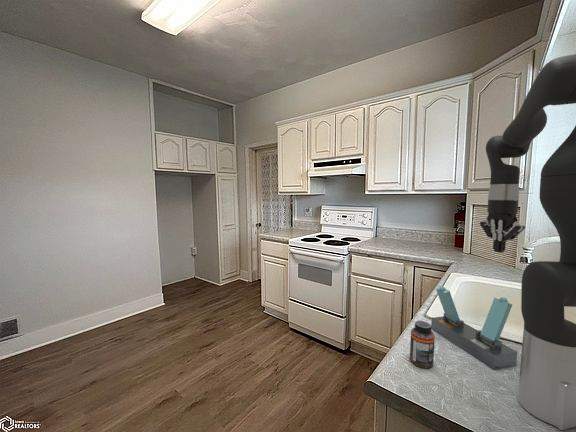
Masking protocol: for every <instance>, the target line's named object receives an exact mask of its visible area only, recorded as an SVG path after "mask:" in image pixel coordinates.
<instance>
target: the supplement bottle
mask: <svg viewBox="0 0 576 432" xmlns="http://www.w3.org/2000/svg"><path fill="white" fill-rule="evenodd" d="M435 340H436V339H435V334H434V332H433V331H432V329H431V323H429V322H427V321H424V320H417V321H415V322H414V327H412V329H411V330H410V342H409V343H410V345H409V346H410V348H409V360H410V361H411V362H412V364H414V365H415V366H417V367H419V368H422V369H429V368H432V367H433V365H434V362H435V361H434V359H435V358H434V357H435V343H436V341H435Z"/></svg>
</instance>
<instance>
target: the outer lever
mask: <svg viewBox="0 0 576 432" xmlns="http://www.w3.org/2000/svg"><path fill="white" fill-rule="evenodd" d="M435 290H436V293H437V296H438V299H439V301H440V304H441V306H442V309H443V313H445V315H446V319H448V320H449V321H451V322H453V323H455V324H456V325H457V324H458V321H460V320H461V319H460V317H459V314H458V311H457V307H456V305H455V302H454V300H453V296H452V294H451V291H450V290H448V289H447V288H446V287H444V286H441V285H440V286H438V287H436V288H435Z"/></svg>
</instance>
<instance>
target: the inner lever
mask: <svg viewBox="0 0 576 432" xmlns="http://www.w3.org/2000/svg"><path fill="white" fill-rule="evenodd" d="M512 307H513V303H510V302H508V299H507V298H506V297H502V296H501V297H500V298H497V297H493V300H492V303H491V306H490V307H489V310H488V312H487V314H486V315H487V316H486V318H485V321H484V322H483V326H482V328H481V333H480V335H479V337H480V338H481V339H483V340H484V341H486V342H488V343H490V344H492V345H493V346H494V344H495V341H500V338H501V335H502V333H503V330H504V328H505V325H506V323H507V320H508V317H509V314H510V312H511V309H512Z"/></svg>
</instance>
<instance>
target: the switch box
mask: <svg viewBox="0 0 576 432" xmlns="http://www.w3.org/2000/svg"><path fill="white" fill-rule="evenodd" d="M430 325H431V330H432V329H433V331H434V332H436V333H437V334H439V335H441V337H443V338H445V339H446V340H448V341H449V342H451V343H452V344H454V345H455V346H457V347H459V349H461V350H463V351H465V352H466V353H468V354H469V355H470V356H472V357H473V358H474V359H477V360H478V361H480V362H481V363H482V364H484V365H485V366H487V367H489V368H490V369H492V370H498V369H505V368H509V367H515V366H517V358H518V351H517V350H515V349H513V348H511V347H509V346H507V345H506V344H504V343H503V341H501V340H498V341H495V344H494V346H493V345H492V344H490V343H488V342H486V341H484V340H483V339H481V338H480V337H479V335H480V333H481V331H482V329H481V330H479V329H476V328H474V327H472V326H471V325H468V324H466V323H465V322H464V320H461V319H460V321H458V324H457V325H456V324H455V323H453V322H451V321H449V320H448V319H446V315H445V312H443V316H434V317H431V323H430Z"/></svg>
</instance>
